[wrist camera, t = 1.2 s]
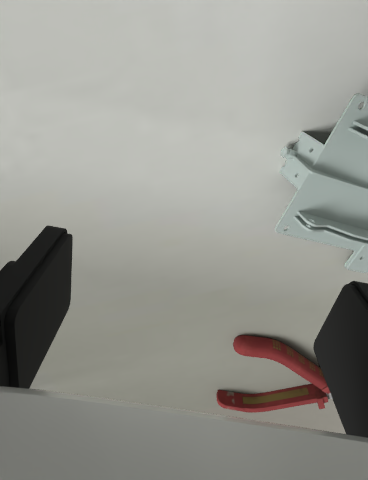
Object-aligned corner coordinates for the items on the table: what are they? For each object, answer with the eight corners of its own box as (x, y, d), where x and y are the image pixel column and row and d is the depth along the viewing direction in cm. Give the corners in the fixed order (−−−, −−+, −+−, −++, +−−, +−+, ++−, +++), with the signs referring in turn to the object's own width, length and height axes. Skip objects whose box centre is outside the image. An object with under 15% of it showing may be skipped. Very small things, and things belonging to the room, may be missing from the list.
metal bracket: (263, 263, 26) (387, 59, 19) (237, 223, 31) (329, 46, 24) (387, 286, 32) (521, 134, 25) (350, 249, 36) (452, 112, 29)
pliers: (364, 414, 44) (373, 434, 42) (214, 393, 43) (214, 412, 41) (407, 354, 39) (420, 373, 36) (235, 328, 38) (237, 345, 36)
